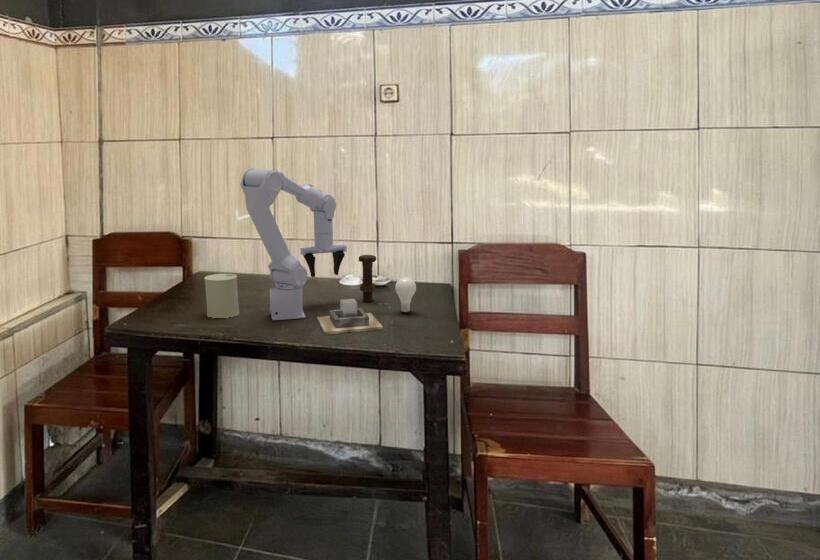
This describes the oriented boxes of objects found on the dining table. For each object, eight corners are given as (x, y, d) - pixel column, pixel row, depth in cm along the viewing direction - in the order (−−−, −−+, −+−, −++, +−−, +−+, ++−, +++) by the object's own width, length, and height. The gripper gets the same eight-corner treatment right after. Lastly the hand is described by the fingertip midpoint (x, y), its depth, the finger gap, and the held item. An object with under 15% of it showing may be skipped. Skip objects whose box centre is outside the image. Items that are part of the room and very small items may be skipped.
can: (245, 314, 161) (243, 275, 158) (216, 320, 154) (213, 280, 152) (229, 308, 167) (227, 270, 164) (201, 314, 160) (198, 275, 158)
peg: (343, 324, 150) (342, 303, 149) (340, 319, 154) (340, 299, 152) (357, 322, 151) (356, 302, 150) (354, 318, 155) (353, 298, 154)
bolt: (372, 303, 174) (372, 258, 170) (357, 302, 175) (357, 257, 171) (377, 299, 179) (377, 255, 176) (362, 298, 180) (362, 254, 177)
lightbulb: (419, 311, 166) (419, 276, 164) (410, 316, 161) (410, 280, 158) (400, 308, 169) (401, 274, 166) (391, 313, 163) (391, 278, 161)
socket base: (324, 334, 144) (324, 323, 143) (317, 319, 157) (316, 309, 156) (382, 329, 148) (382, 318, 148) (370, 315, 161) (370, 305, 161)
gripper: (304, 236, 161) (306, 280, 164) (350, 233, 167) (350, 275, 171) (297, 233, 167) (299, 275, 170) (341, 230, 174) (342, 271, 177)
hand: (324, 275), depth 171 cm, fingers open, 7 cm apart
